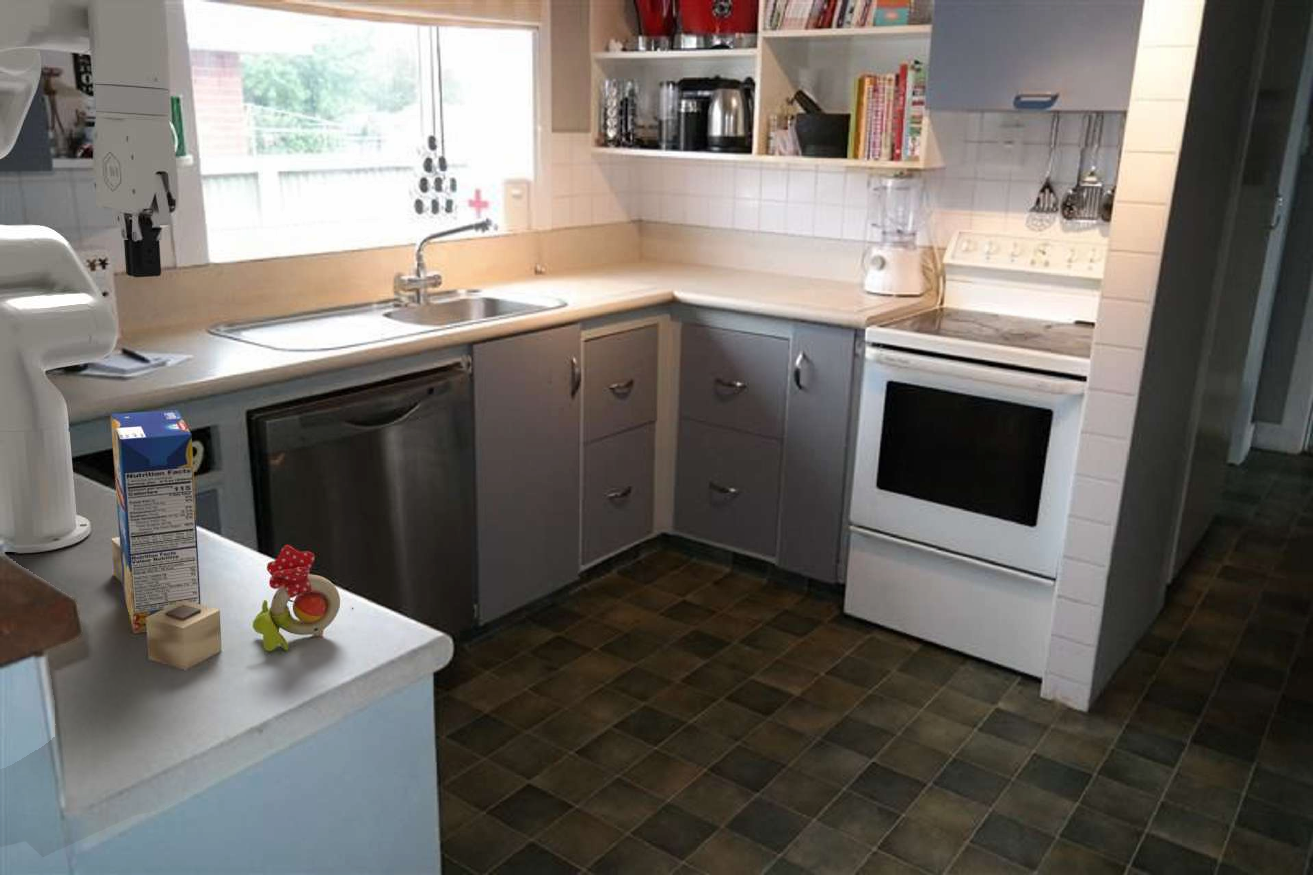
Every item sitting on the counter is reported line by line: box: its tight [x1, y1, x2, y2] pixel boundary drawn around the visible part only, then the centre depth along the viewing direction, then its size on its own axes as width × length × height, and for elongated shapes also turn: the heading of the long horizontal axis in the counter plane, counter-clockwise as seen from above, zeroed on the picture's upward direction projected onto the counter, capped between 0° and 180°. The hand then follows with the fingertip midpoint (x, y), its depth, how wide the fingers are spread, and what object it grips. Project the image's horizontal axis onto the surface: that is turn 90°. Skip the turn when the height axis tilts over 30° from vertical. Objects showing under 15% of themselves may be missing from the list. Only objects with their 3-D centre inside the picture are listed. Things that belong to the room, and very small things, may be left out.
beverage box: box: [110, 409, 202, 633], centre depth 120 cm, size 7×11×22 cm, turn 31°
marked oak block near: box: [146, 600, 222, 670], centre depth 112 cm, size 5×5×5 cm
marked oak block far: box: [110, 536, 123, 584], centre depth 130 cm, size 5×5×5 cm
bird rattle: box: [252, 544, 341, 652], centre depth 117 cm, size 6×11×9 cm
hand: (143, 275), depth 120 cm, fingers closed
